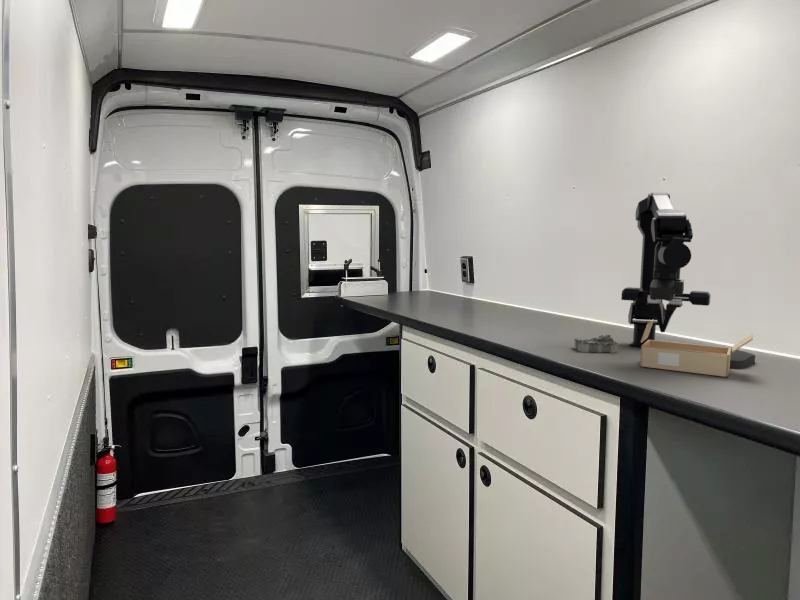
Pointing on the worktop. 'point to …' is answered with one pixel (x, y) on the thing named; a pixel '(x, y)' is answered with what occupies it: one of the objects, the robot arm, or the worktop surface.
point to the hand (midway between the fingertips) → (662, 332)
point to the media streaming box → (741, 359)
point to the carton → (686, 357)
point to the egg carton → (596, 344)
